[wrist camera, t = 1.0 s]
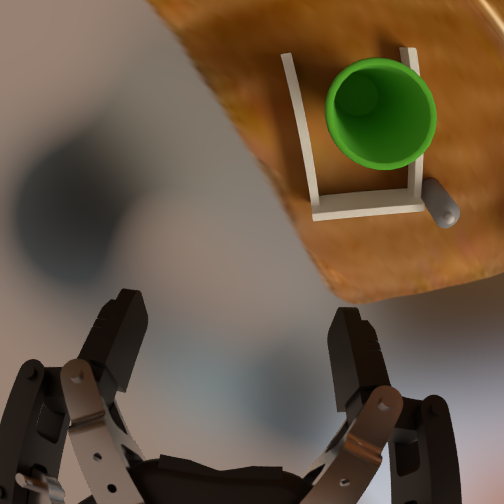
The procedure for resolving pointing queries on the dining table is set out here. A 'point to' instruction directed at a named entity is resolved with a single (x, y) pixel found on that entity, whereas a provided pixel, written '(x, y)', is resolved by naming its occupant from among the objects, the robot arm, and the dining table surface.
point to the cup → (380, 113)
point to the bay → (379, 200)
